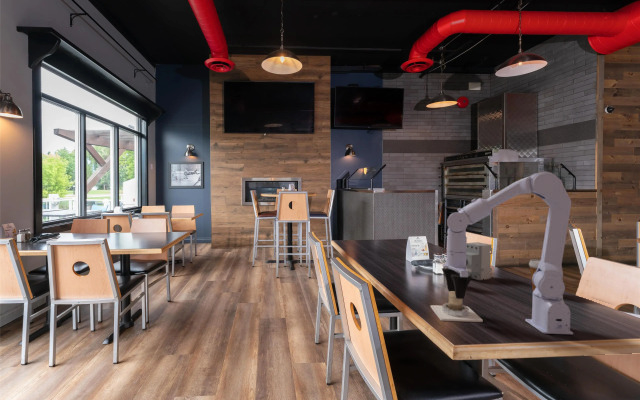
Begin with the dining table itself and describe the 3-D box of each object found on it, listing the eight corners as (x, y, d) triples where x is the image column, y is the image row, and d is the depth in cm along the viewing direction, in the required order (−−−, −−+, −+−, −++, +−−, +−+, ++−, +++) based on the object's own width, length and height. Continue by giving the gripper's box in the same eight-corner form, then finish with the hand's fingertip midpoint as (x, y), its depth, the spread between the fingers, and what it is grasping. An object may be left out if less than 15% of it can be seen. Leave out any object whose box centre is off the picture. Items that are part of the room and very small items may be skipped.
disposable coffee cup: (522, 290, 135) (522, 260, 134) (539, 288, 138) (540, 258, 138) (545, 298, 126) (546, 265, 125) (563, 295, 129) (564, 263, 129)
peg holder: (482, 322, 102) (482, 314, 102) (441, 320, 103) (441, 313, 103) (467, 308, 114) (467, 301, 114) (430, 307, 115) (430, 300, 115)
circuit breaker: (454, 277, 154) (455, 244, 154) (477, 274, 160) (478, 242, 160) (468, 281, 148) (468, 246, 147) (491, 278, 154) (492, 244, 153)
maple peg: (464, 314, 106) (464, 295, 106) (451, 314, 106) (451, 295, 106) (459, 309, 110) (459, 291, 110) (446, 309, 110) (446, 291, 110)
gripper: (436, 247, 115) (436, 287, 116) (450, 255, 101) (450, 301, 101) (458, 247, 115) (457, 288, 115) (475, 255, 100) (474, 302, 101)
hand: (455, 294), depth 108 cm, fingers open, 7 cm apart
